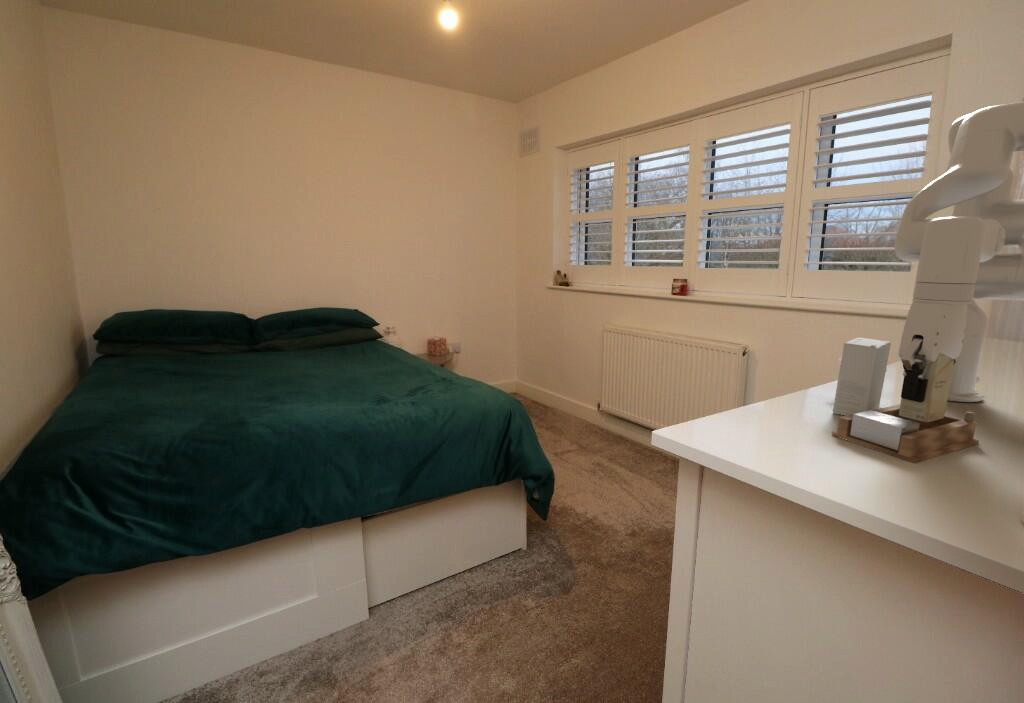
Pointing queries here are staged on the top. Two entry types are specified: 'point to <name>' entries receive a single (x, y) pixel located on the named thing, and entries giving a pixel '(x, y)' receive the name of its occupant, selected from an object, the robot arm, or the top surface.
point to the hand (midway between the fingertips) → (923, 396)
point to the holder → (921, 436)
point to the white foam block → (881, 428)
